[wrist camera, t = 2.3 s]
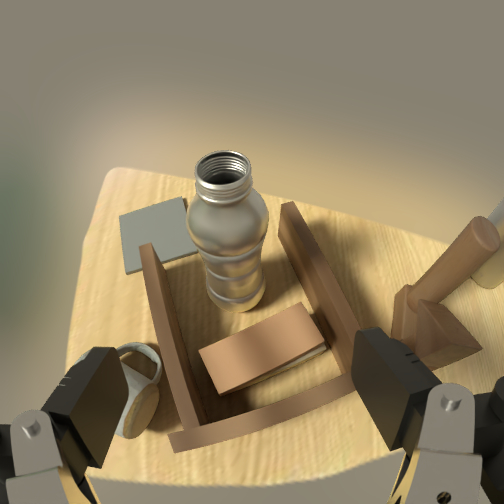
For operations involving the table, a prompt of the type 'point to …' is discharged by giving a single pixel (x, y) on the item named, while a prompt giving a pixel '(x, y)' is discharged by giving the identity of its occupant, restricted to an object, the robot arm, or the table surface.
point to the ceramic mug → (137, 393)
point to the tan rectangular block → (263, 350)
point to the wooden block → (435, 290)
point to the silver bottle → (229, 229)
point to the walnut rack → (203, 433)
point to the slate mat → (156, 233)
